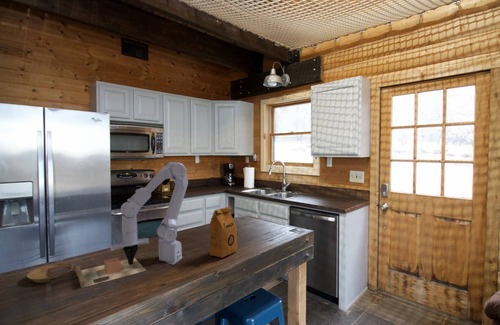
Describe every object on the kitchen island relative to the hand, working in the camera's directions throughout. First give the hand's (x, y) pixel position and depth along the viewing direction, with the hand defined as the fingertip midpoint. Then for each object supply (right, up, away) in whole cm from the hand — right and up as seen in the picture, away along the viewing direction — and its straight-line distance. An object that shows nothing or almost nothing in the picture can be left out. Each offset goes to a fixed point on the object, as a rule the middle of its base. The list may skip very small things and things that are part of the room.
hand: (130, 263), depth 113 cm
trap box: (-6, -2, -4) cm, 8 cm away
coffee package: (+37, -2, +16) cm, 40 cm away
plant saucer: (-29, -3, -6) cm, 29 cm away
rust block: (-5, -1, -4) cm, 7 cm away
